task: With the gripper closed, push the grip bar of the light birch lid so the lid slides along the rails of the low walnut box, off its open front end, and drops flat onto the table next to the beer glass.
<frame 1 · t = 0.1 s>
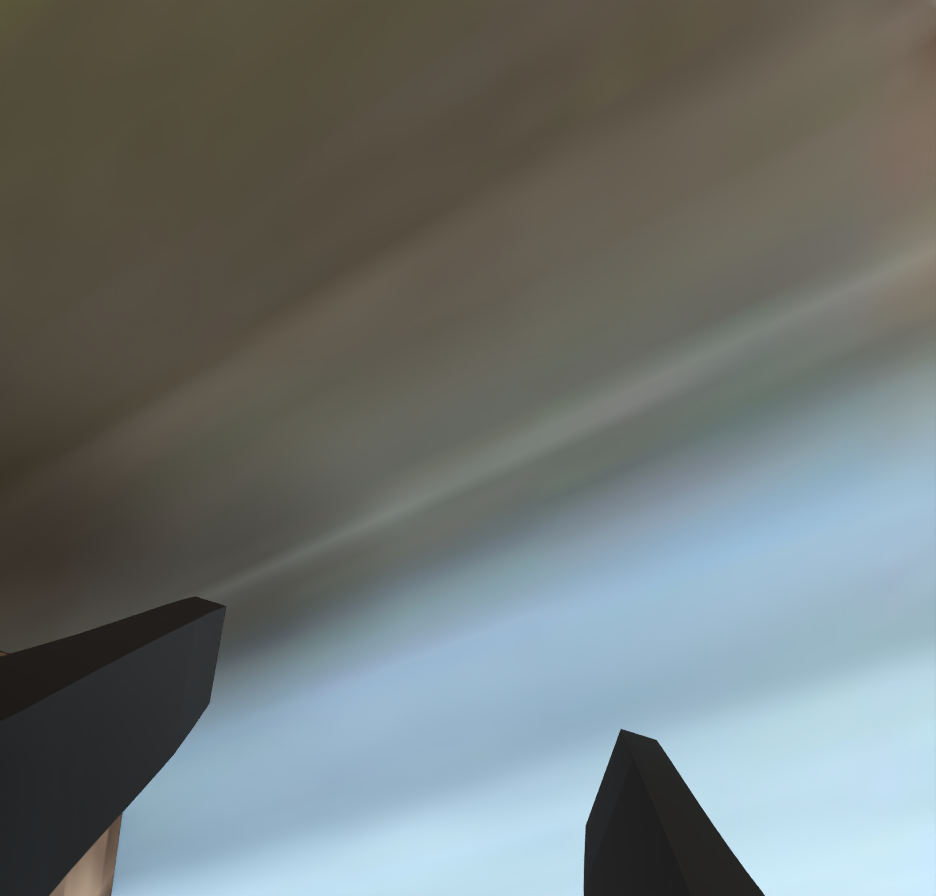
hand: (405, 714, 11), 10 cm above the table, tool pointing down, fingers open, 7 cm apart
box: (0, 759, 26), on the table
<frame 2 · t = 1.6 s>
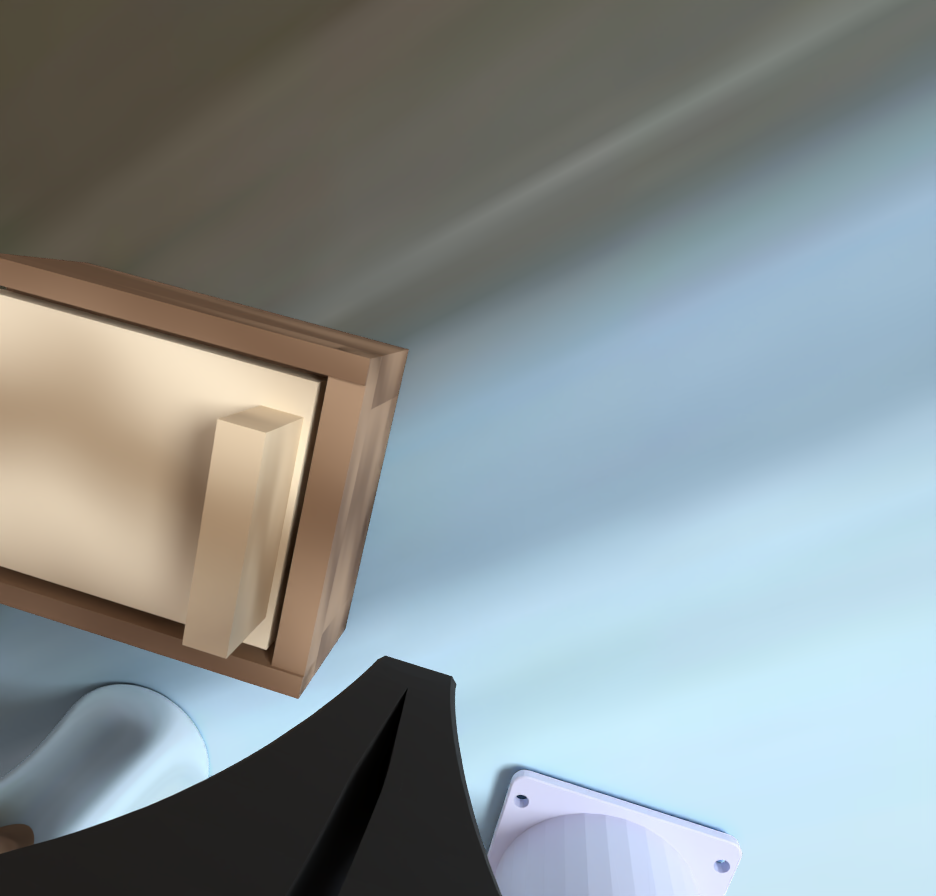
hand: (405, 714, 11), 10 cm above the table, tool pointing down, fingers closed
box: (220, 452, 21), on the table
lid: (141, 467, 18), point 3 cm above the table, touching box
beer glass: (140, 749, 24), on the table
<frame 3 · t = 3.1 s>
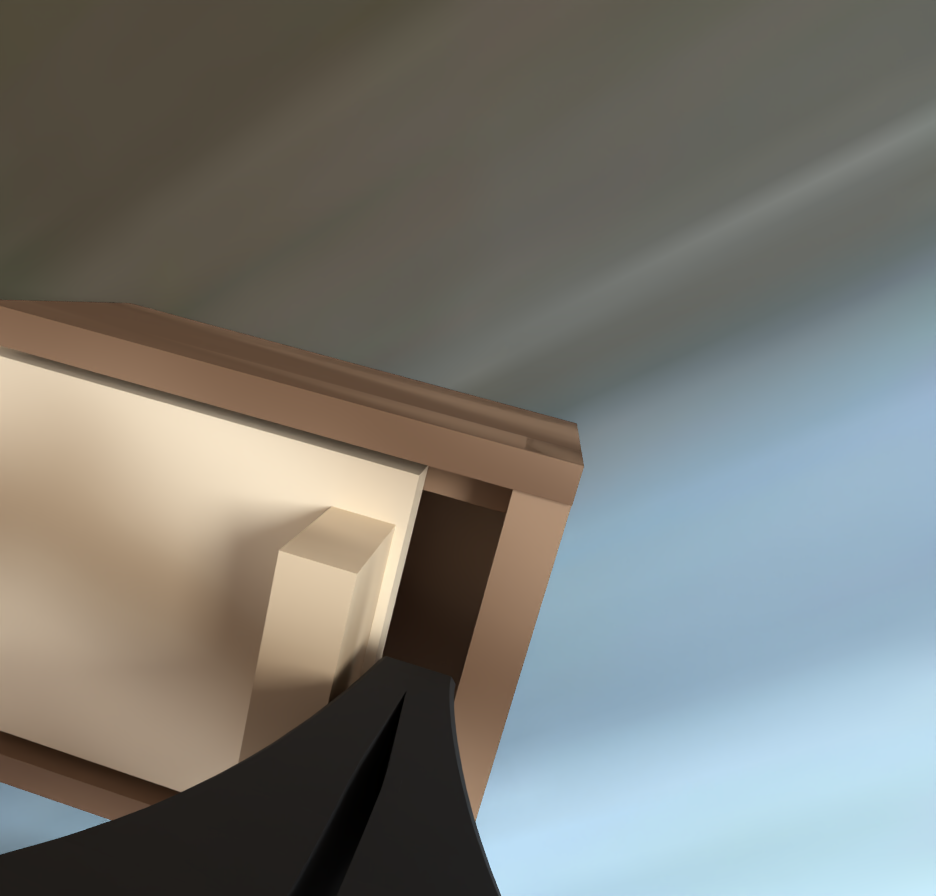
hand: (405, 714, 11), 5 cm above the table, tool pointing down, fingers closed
box: (307, 555, 16), on the table
lid: (154, 580, 13), point 3 cm above the table
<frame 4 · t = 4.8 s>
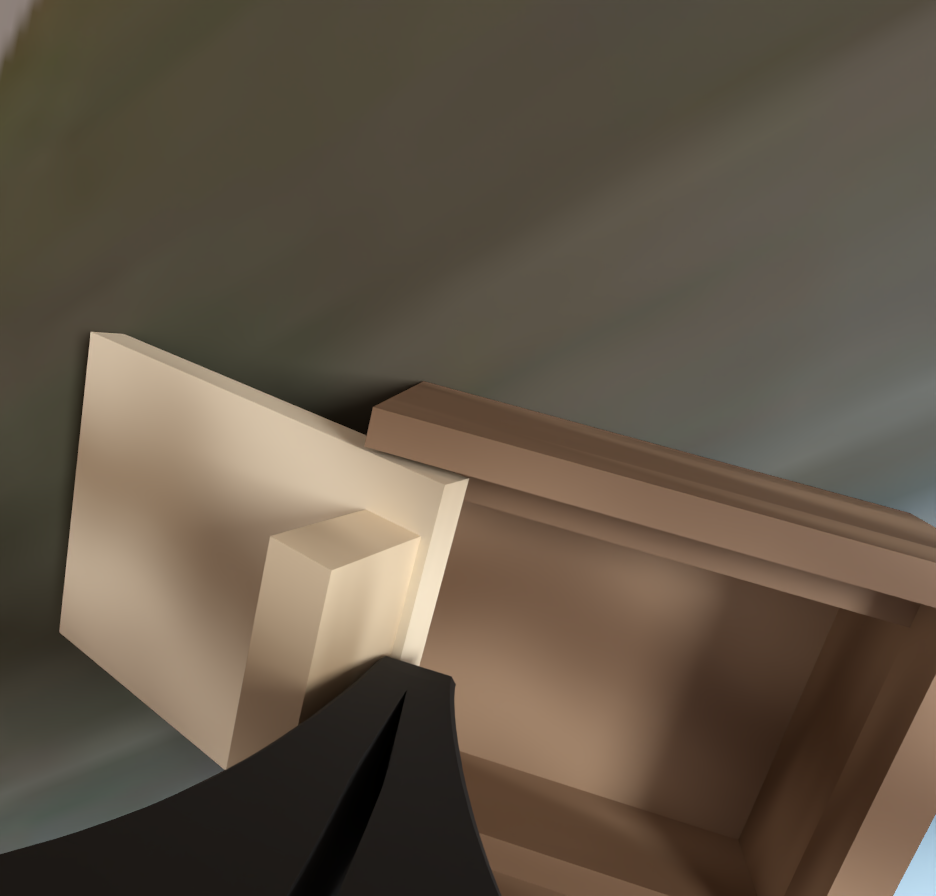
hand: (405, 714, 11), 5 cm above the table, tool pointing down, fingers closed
box: (594, 639, 15), on the table
lid: (237, 566, 14), point 2 cm above the table, tilted 22°, touching gripper
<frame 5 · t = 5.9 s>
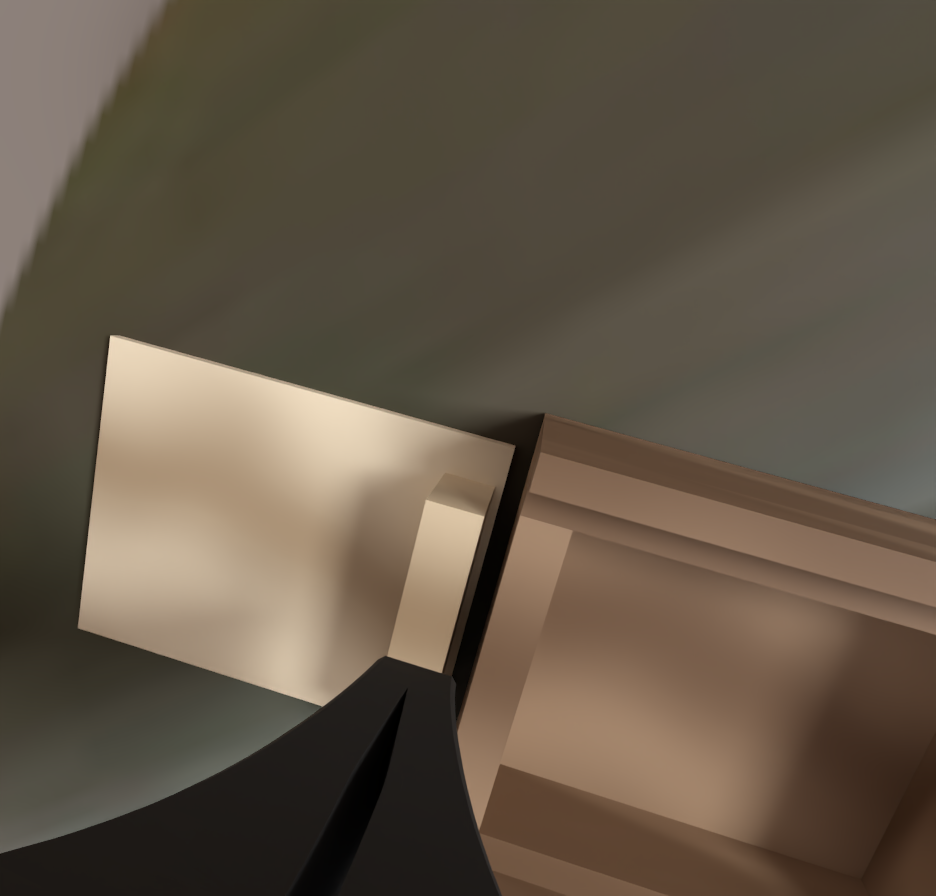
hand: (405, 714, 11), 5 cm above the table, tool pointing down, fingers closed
box: (712, 674, 15), on the table
lid: (290, 534, 16), on the table
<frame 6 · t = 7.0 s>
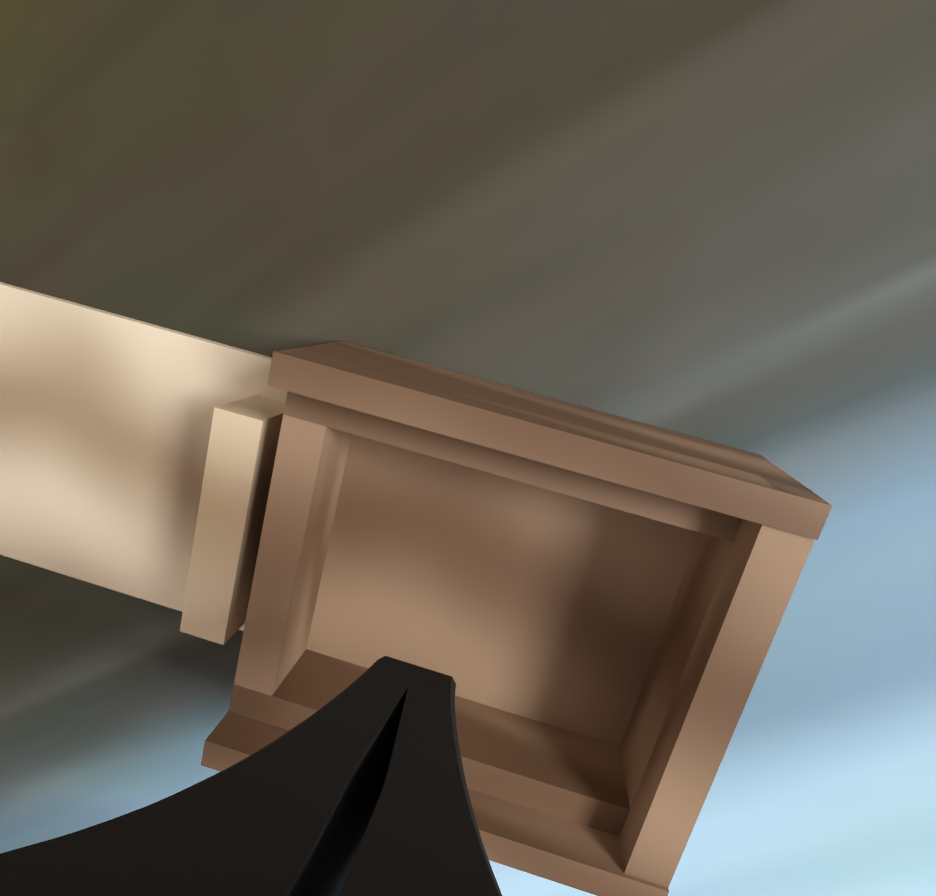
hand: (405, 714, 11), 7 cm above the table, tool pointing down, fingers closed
box: (495, 571, 17), on the table
lid: (139, 456, 18), on the table
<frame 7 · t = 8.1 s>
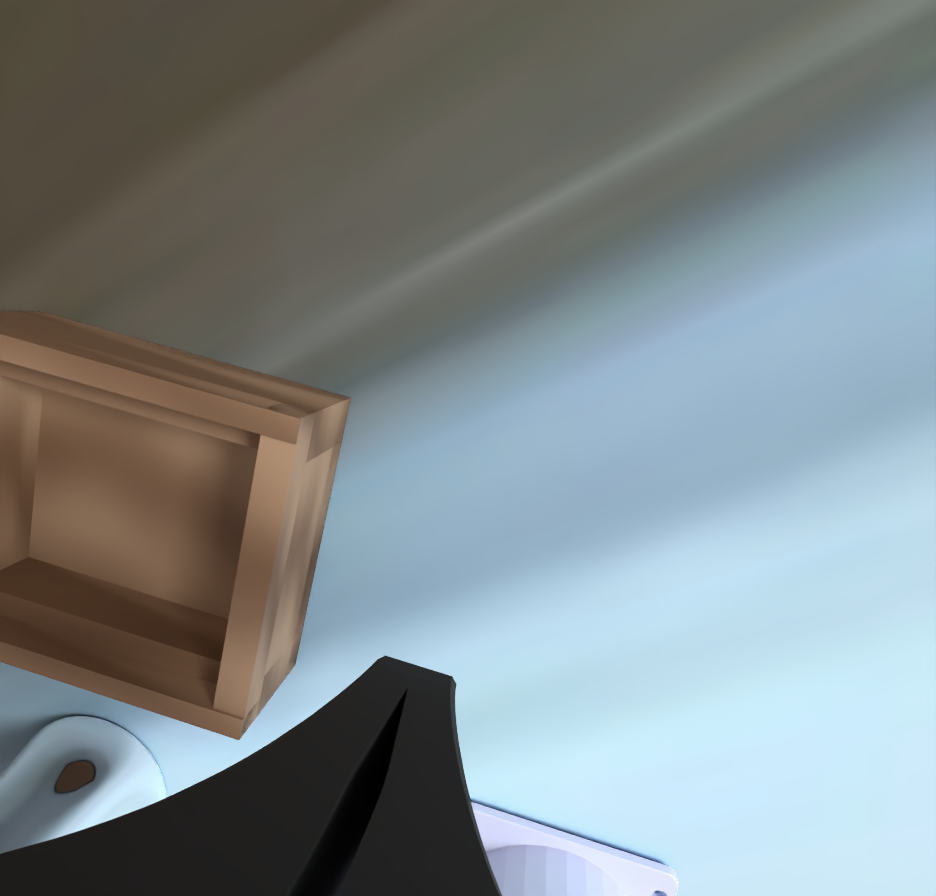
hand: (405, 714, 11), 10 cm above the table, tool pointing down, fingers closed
box: (172, 494, 22), on the table
beer glass: (101, 778, 25), on the table
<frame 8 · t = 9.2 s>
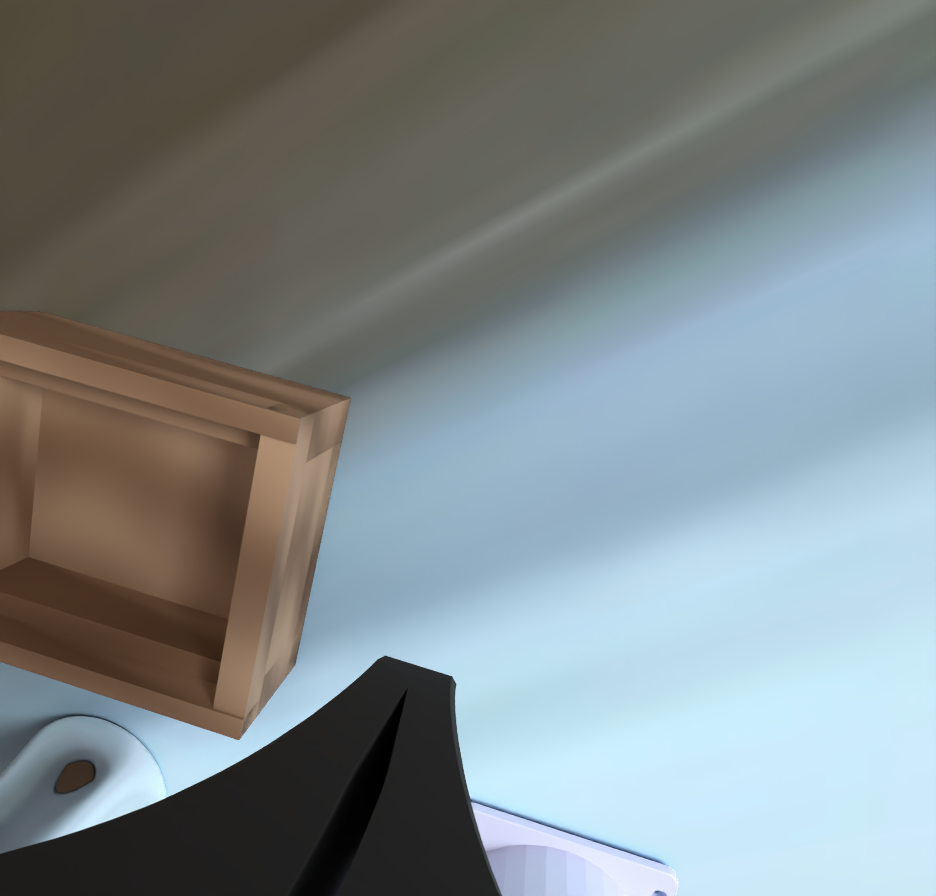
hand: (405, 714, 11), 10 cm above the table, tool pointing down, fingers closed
box: (172, 494, 22), on the table
beer glass: (101, 778, 25), on the table
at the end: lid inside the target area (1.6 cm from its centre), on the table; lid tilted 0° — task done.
